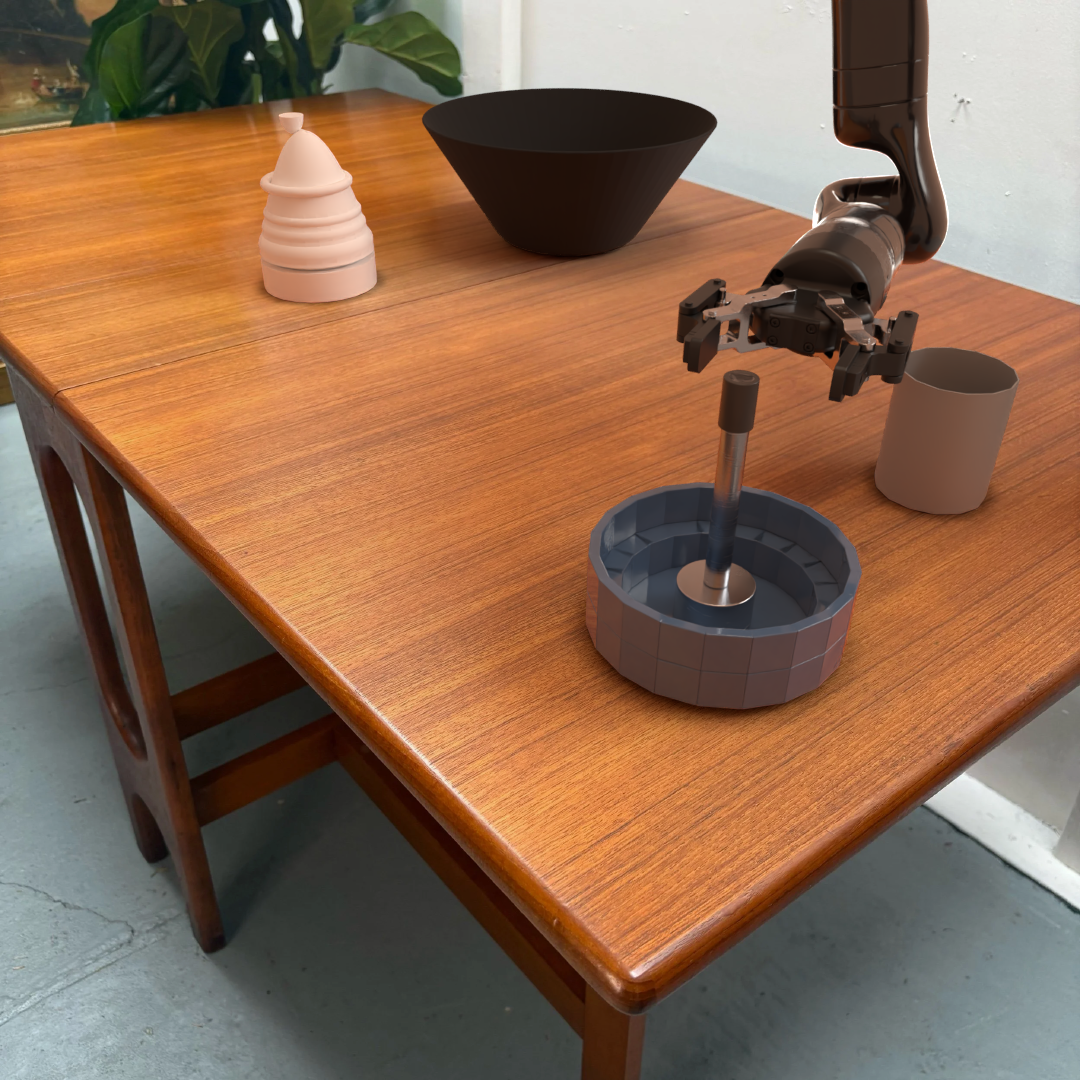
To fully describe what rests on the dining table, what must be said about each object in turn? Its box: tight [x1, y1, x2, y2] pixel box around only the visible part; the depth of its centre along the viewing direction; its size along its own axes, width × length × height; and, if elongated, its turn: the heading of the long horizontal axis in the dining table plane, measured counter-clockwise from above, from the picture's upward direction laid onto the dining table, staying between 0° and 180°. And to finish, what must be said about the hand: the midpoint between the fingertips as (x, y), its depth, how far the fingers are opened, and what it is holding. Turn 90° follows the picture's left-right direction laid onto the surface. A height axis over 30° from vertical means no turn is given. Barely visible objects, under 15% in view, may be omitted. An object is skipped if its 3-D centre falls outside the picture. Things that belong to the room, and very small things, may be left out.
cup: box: [873, 346, 1021, 515], centre depth 78 cm, size 8×8×10 cm
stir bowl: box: [585, 481, 863, 710], centre depth 64 cm, size 16×16×6 cm
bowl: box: [421, 87, 718, 257], centre depth 127 cm, size 36×36×15 cm
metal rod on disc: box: [673, 369, 761, 630], centre depth 61 cm, size 5×5×17 cm
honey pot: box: [257, 111, 378, 304], centre depth 113 cm, size 13×13×18 cm
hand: (763, 372), depth 59 cm, fingers open, 8 cm apart
